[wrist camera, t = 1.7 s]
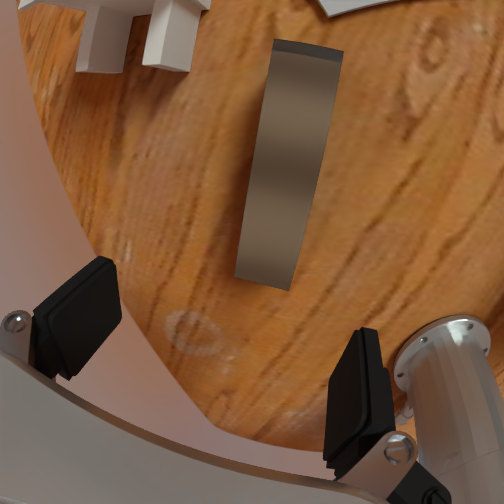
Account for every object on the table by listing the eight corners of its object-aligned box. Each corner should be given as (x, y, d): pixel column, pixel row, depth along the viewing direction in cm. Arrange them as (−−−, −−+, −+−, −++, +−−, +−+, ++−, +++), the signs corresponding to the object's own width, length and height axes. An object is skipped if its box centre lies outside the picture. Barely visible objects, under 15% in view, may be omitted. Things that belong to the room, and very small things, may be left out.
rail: (296, 253, 26) (288, 291, 20) (252, 242, 26) (234, 276, 21) (338, 68, 18) (343, 51, 13) (286, 58, 19) (274, 38, 13)
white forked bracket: (197, 72, 20) (101, 50, 10) (105, 74, 22) (4, 75, 11) (218, -26, 16) (147, -93, 5) (123, -13, 17) (36, -43, 7)
